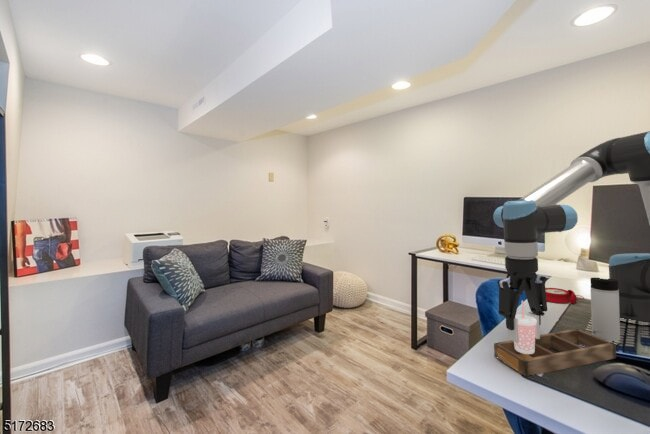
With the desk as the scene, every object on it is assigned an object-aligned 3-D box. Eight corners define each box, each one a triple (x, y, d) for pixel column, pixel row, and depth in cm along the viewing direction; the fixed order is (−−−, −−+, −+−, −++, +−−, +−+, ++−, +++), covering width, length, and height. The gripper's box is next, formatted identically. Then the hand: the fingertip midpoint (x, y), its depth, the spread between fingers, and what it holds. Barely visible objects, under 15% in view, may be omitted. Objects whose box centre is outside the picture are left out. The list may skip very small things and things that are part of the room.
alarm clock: (536, 287, 134) (577, 282, 126) (540, 300, 133) (582, 296, 125) (538, 293, 125) (582, 289, 117) (542, 308, 124) (587, 304, 116)
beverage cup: (512, 342, 85) (510, 296, 85) (537, 347, 82) (536, 298, 81) (510, 352, 80) (508, 302, 80) (538, 357, 77) (536, 305, 76)
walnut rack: (576, 341, 91) (576, 328, 91) (616, 358, 80) (615, 344, 80) (493, 356, 85) (492, 343, 85) (523, 377, 75) (523, 362, 75)
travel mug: (592, 342, 89) (590, 278, 88) (592, 334, 94) (590, 273, 93) (621, 348, 85) (619, 281, 84) (619, 339, 90) (617, 276, 89)
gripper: (537, 251, 85) (540, 328, 86) (480, 257, 82) (484, 337, 83) (563, 255, 78) (565, 339, 79) (501, 262, 75) (505, 350, 76)
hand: (524, 338), depth 81 cm, fingers closed on beverage cup, 6 cm apart
